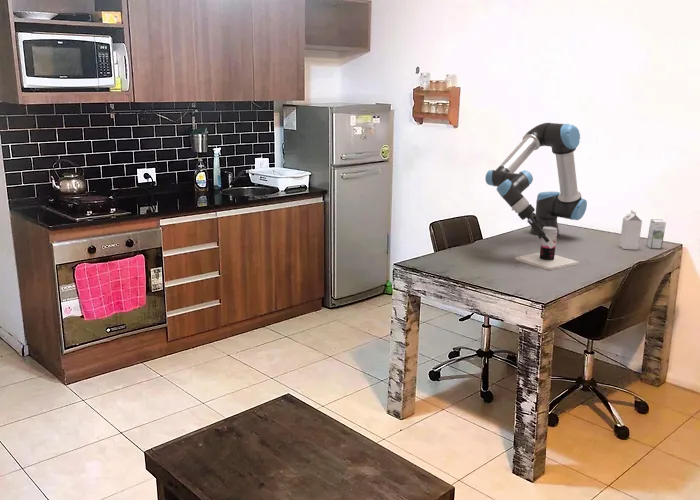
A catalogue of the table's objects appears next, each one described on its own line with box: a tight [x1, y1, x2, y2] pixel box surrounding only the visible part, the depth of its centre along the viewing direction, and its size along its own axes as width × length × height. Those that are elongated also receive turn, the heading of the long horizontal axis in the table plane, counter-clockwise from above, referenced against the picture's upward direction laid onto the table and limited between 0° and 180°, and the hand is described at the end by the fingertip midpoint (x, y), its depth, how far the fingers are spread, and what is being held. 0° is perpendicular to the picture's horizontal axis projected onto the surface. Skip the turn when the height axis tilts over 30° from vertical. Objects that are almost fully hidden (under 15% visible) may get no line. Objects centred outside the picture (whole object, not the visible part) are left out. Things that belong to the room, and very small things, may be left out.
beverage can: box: [539, 227, 558, 261], centre depth 299 cm, size 6×6×15 cm
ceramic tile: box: [515, 252, 579, 271], centre depth 301 cm, size 20×20×1 cm
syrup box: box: [646, 218, 667, 250], centre depth 329 cm, size 6×6×14 cm
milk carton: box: [619, 209, 643, 251], centre depth 326 cm, size 7×7×19 cm
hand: (553, 243), depth 298 cm, fingers open, 13 cm apart
